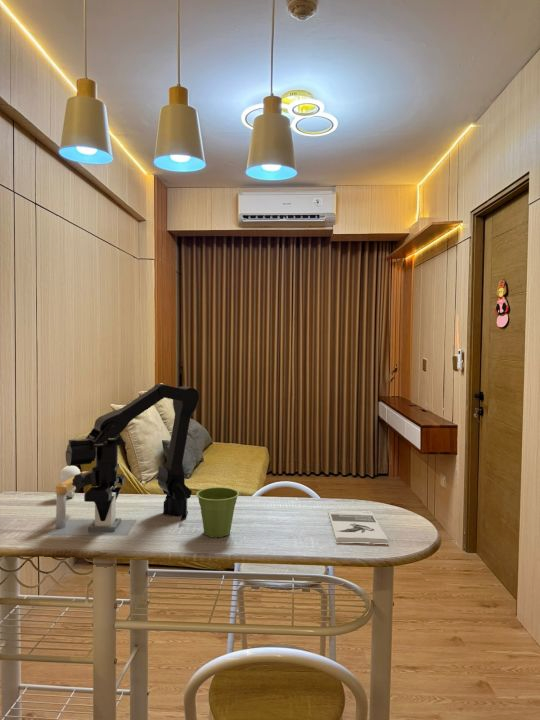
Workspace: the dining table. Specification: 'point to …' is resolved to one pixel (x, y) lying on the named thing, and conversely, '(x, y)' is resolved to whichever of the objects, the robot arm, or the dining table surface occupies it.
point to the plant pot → (217, 510)
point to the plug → (110, 516)
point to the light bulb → (67, 474)
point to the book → (356, 527)
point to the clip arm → (66, 485)
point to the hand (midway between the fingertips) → (105, 517)
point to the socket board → (85, 523)
